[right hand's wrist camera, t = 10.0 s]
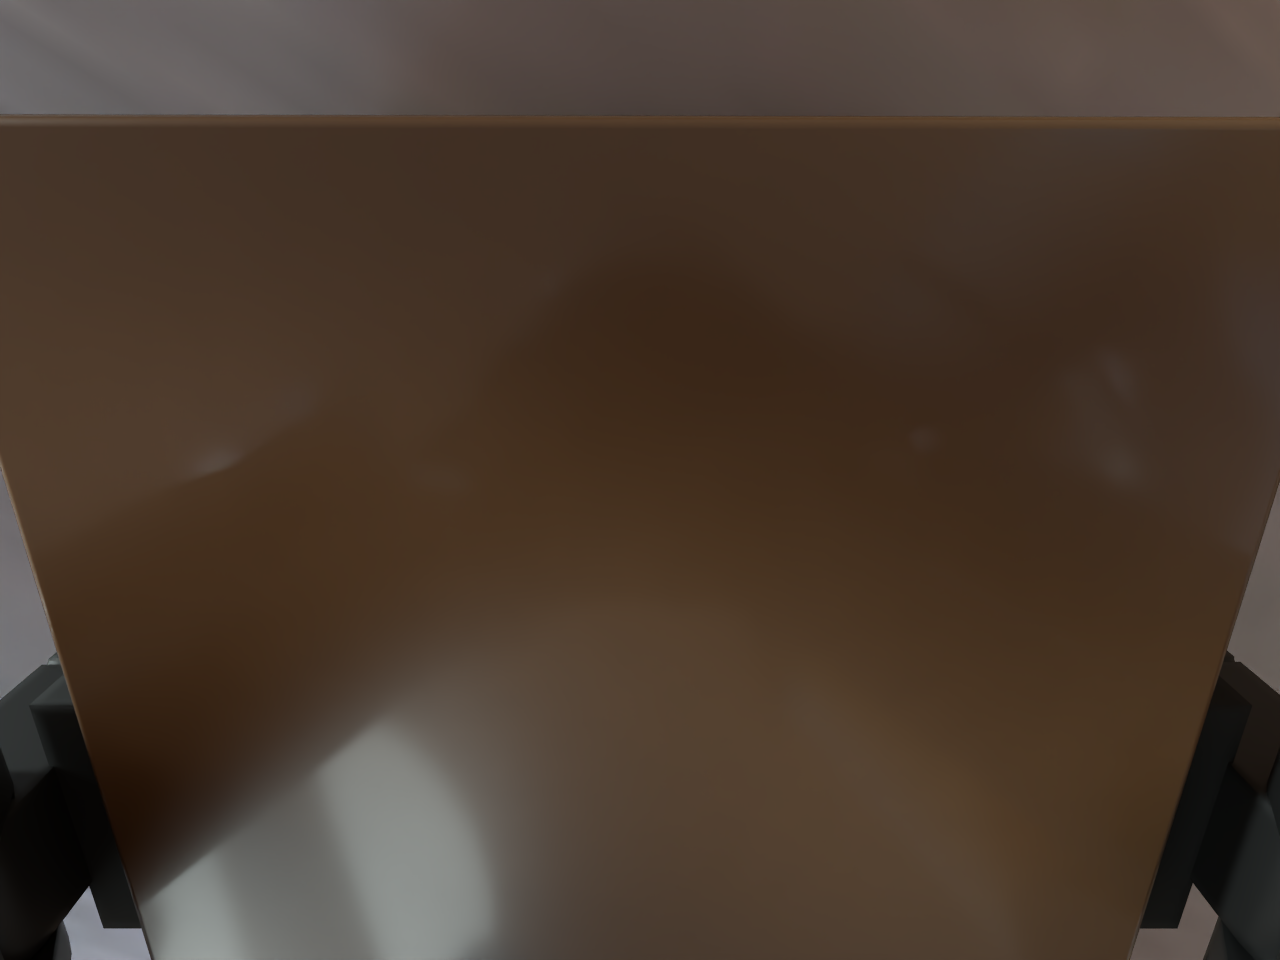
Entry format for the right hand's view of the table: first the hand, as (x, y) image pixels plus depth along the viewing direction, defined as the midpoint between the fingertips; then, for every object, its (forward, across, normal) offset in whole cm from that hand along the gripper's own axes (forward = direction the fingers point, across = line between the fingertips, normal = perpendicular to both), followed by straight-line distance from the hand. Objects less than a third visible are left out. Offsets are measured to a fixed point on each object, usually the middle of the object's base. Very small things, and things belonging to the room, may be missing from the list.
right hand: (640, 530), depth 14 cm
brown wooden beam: (+1, 0, -24) cm, 24 cm away
